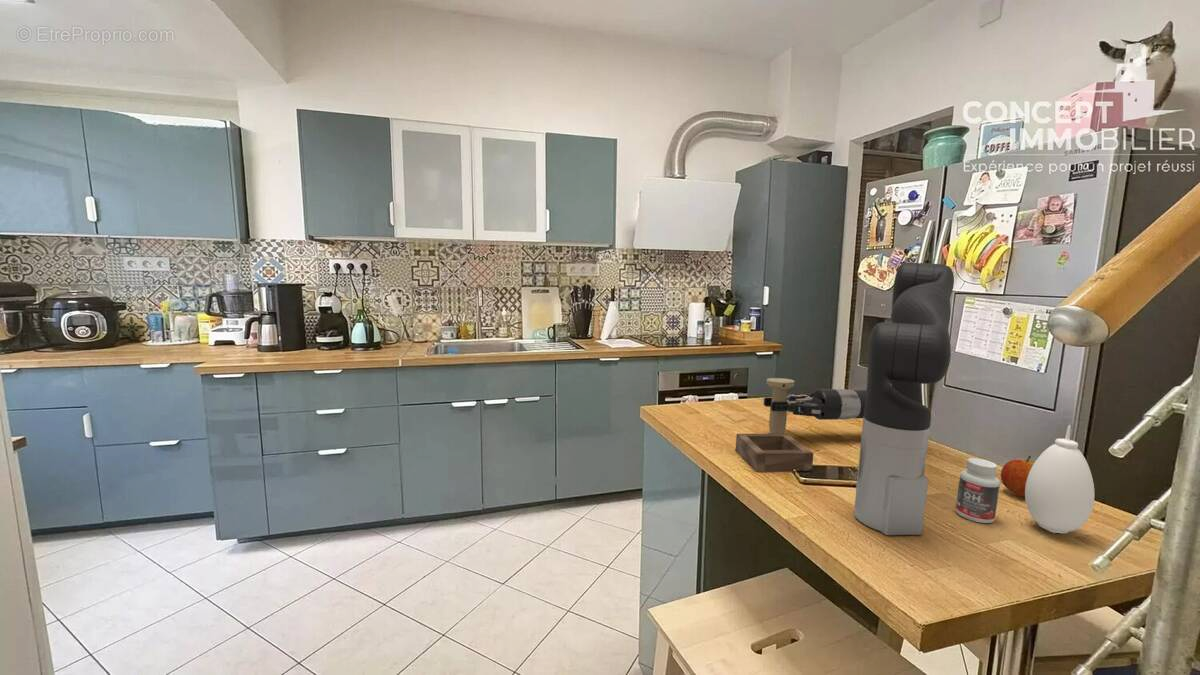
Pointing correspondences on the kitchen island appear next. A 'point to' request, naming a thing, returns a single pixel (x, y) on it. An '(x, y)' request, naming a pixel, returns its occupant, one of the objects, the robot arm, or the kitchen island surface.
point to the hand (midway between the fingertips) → (768, 404)
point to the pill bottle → (978, 491)
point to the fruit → (1016, 475)
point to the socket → (773, 452)
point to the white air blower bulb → (1060, 487)
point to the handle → (778, 395)
